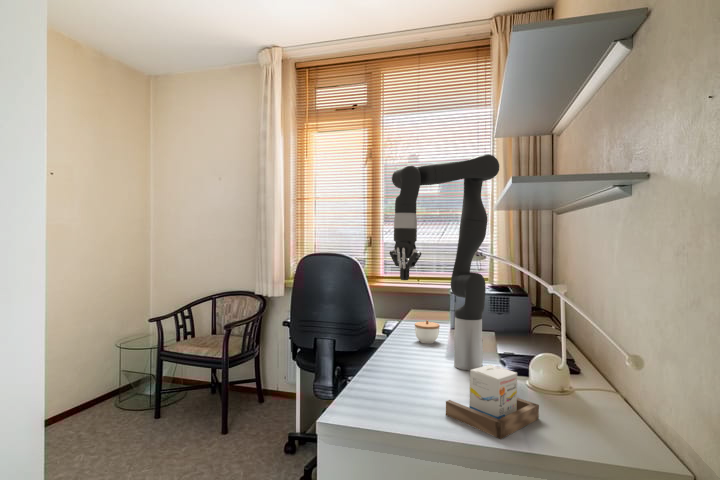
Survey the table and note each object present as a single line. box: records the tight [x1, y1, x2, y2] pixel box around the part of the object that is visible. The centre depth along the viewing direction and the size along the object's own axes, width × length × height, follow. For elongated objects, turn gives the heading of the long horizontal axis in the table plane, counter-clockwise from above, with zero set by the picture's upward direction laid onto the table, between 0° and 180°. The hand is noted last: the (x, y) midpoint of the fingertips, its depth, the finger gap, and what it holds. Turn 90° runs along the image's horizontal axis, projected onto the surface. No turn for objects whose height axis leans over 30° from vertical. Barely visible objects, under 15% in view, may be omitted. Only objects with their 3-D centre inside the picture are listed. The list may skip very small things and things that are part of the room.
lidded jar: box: [414, 319, 440, 344], centre depth 176 cm, size 11×11×9 cm
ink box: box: [468, 364, 518, 419], centre depth 101 cm, size 9×8×12 cm
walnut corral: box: [445, 397, 540, 440], centre depth 101 cm, size 17×16×4 cm
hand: (404, 280), depth 132 cm, fingers closed
